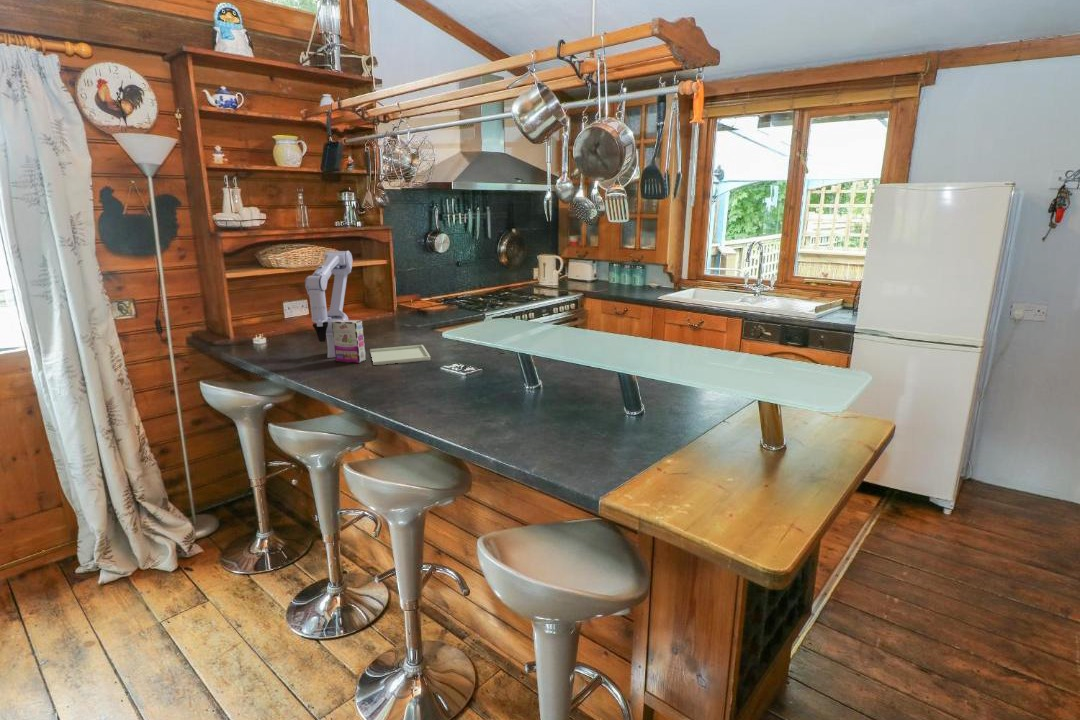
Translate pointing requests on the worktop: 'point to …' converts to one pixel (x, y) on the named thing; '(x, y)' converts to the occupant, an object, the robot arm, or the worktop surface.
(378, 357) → the tray
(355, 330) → the candy bar box
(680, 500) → the worktop surface
